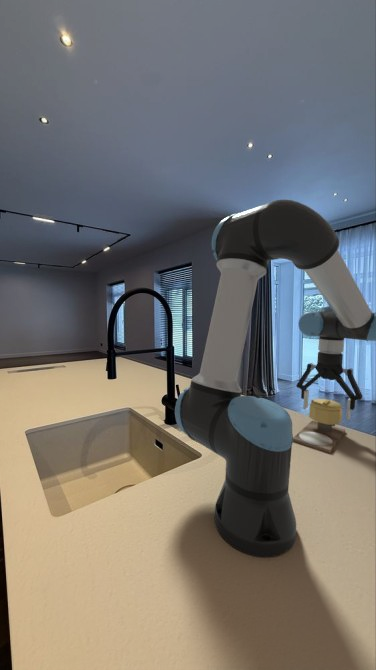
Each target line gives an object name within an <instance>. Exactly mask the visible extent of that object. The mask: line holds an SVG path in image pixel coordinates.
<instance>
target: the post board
mask: <svg viewBox="0 0 376 670" xmlns="http://www.w3.org/2000/svg"><path fill="white" fill-rule="evenodd" d="M345 433H346V429H344V428H341V427H338V426H336V425H327V424H324V423H320V422H316V421H314V420H311V421H310V422H309V423H308V424H307V425H305V426H304V427H303V428H302V429H301V430H300V431H299V432H298V433H297V434H295V435H293V443H297V444H300V445H303V446H306V447H308V448H312V449H315V450H319V451H321V452H324V453H328V454H331V453H332V452H333V450H334V449H335V448H336V445H338V443H339V442H340V440H341V439H342V437H344V434H345Z"/></svg>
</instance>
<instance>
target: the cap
mask: <svg viewBox="0 0 376 670" xmlns="http://www.w3.org/2000/svg"><path fill="white" fill-rule="evenodd" d="M310 401H311V403H310V404H309V412H308V413H309V414H308V417H309V418H310V419H311V420H312V421H315V422H320V423H324V424H327V425H335V426H336V425H337V426H338V425H340V424H341V422H342V421H343V409H344V408H343V405H342V404H341V403H340V402H337V401H335V400H331V399H326V398H313V399H311V400H310Z"/></svg>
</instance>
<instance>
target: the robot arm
mask: <svg viewBox="0 0 376 670" xmlns="http://www.w3.org/2000/svg"><path fill="white" fill-rule="evenodd" d="M217 224H218V225H216V227H215V229H214V231H213V234H212V236H211V249H212V251H213V257H214V259H215V261H216V267H217V269H218V270H219V272H220V276H219V282H218V286H217V291H216V296H215V302H214V306H213V310H212V315H211V318H210V323H209V329H208V334H207V338H206V342H205V347H204V352H203V356H202V360H201V366H200V370H199V373H198V374H197V375H195V376H193V377H192V378H191V380H190V385H189V386H188V387H185V388H184V389H183V392H182V393H180V394H179V395H178V397H177V400H176V402H175V407H174V417H175V422H176V424H177V426H178V428H179V430H180V431H181V432H183V433H184V435H186V436H187V437H188V438H189V439H191V441H194V442H196V443H198V444H200V445H202V446H203V447H205V448H206V449H208V450H210V451H211V452H213V453H215V454H217V456H220V457H221V458H222V459H224V460H225V476H224V477H225V479H224V482H223V485H222V487H221V489H220V492H219V495H218V496H217V499H216V502H215V505H214V506H215V507H214V518H213V519H214V525H215V527H216V530H217V532H218V534H219V535H220V536H221V538H222V539H223V540H224V541H225V542H226V543H227V544H229V545H230V546H231V547H233V548H234V549H236V550H238V551H240V552H242V553H244V554H247V555H251V556H255V557H265V558H266V557H267V558H269V557H276V556H277V557H278V556H280V555H282V554H284V553H286V552H287V551H289V550H290V549H291V548H292V547H293V545H294V543H295V541H296V537H297V535H296V534H297V519H296V516H295V511H294V508H293V504H292V500H291V497H290V492H289V486H290V475H291V474H290V473H291V459H292V448H293V443H294V442H293V437H294V435H293V420H292V417H291V415H290V414H289V412H288V411H287V410H286V409H285V408H284V407H283V406H282V405H280V404H278V403H276V402H274V401H272V400H269V399H266V398H263V397H256V396H253V395H242V392H243V390H242V389H241V387H240V385H239V383H238V377H239V372H240V367H241V363H242V358H243V352H244V348H245V343H246V338H247V333H248V330H249V324H250V321H251V320H250V319H251V314H252V309H253V304H254V300H255V295H256V290H257V285H258V281H259V279H261V278H262V277H264V276H266V274H267V270H268V266H269V262H270V261H273V260H274V261H275V260H281V259H282V260H283V259H284V260H288V261H290V262H292V264H293V265H294V266H295V268H297V269H298V270H301V271H304V272H305V273H306V275H307V276H308V278H309V279H310V280H311V282H312V284H313V285H314V287H315V288H316V289H317V291H318V292H319V293H320V295H321V296H322V298H323V299H324V300H325V302H326V303H327V305H324V306H322V307H321V308H320V311H317V310H311V311H307V312H304V313H303V314H302V315H300V317H299V320H298V329H299V330H300V332H301V334H303V335H305V336H307V337H318V346H317V348H318V352H317V362H316V364H314V363H313V362H310V363H308V364H307V365H306V370H305V371H304V372H303V374H302V376H301V377H300V379H299V380H298V382H297V384H296V386H295V387H296V388H298V389H300V391H301V394H300V398H301V399H302V400H303V404H302V405H303V407H302V409H303V410H306V409H308V407H309V393H310V389H308V388H309V387H310V386H312V385H313V384H314V383H315V382H316V381H318V379H320V378H321V379H323V380H330V381H336V383H338V385H339V386H340V387H341V389H343V391H344V393H346V395H347V396H348V399H347V403H346V414H345V415H346V416H345V420H350V419H351V416H352V415H351V414H352V413H351V412H352V411H354V410H355V409H356V402H357V400H359V401H361V400H362V399H363V394H362V392H361V389H360V387H359V385H358V382H357V381H356V378H355V377H354V369H353V368H343V357H344V355H343V352H344V346H345V345H344V344H345V339H346V340H347V339H350V340H356V341H357V340H358V341H366V342H369V341H370V342H371V341H372V342H376V312H373V311H372V309H371V308H370V307H369V304H368V303H367V301H366V299H365V297H364V296H363V293H362V292H361V290H360V288H359V287H358V284H357V283H356V281H355V279H354V276H353V275H352V273H351V271H350V270H349V267H348V266H347V264H346V262H345V260H344V258H343V256H342V255H341V253H340V251H339V249H340V243H341V242H340V239H339V237H338V235H337V233H336V231H335V230H334V228H333V226H332V225H331V224H330V223H329V222H328V221H327V219H325V218H324V217H323V216H322V215H321V214H320V213H319V212H317V211H315V210H314V209H313V208H311V207H310V206H308V205H306V204H304V203H301V202H298V201H295V200H292V199H276V200H272V201H270V202H267V203H264V204H261V205H259V206H256V207H253V208H250V209H247V210H245V211H239V212H235V213H233V214H231V215H229V216H227V217H225V218H223V219H222V220H221V221H220V222H219V223H217ZM314 370H316V372H317V373H316V374H315V375H314V376H313V377H312V378H311V379H309V380H308V381H307V382H306V380H307V379H308V377H309V375H310V374H311V372H312V371H314ZM342 374H344V375H345V376H346V377H347V379H348V382H349V384H350V386H351V388H352V389H351V388H350V386H348V384H347V383H346V381H345V380H344V378H343V377H342V376H341V375H342ZM305 382H306V383H305ZM304 383H305V384H304Z"/></svg>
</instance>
